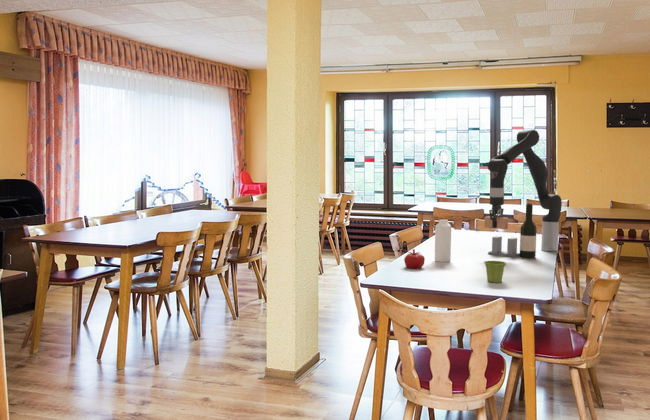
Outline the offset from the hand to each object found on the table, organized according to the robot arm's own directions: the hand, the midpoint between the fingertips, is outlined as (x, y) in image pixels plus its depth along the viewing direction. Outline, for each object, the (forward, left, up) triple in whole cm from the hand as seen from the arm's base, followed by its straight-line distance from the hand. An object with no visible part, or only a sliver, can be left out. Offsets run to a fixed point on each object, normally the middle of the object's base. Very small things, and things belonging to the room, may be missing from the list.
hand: (496, 227), depth 347 cm
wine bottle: (-11, +14, -17) cm, 24 cm away
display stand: (-10, +1, -17) cm, 19 cm away
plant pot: (+63, +28, -17) cm, 71 cm away
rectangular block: (0, 0, -1) cm, 1 cm away
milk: (+30, -16, -17) cm, 38 cm away
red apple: (+57, -17, -17) cm, 62 cm away
